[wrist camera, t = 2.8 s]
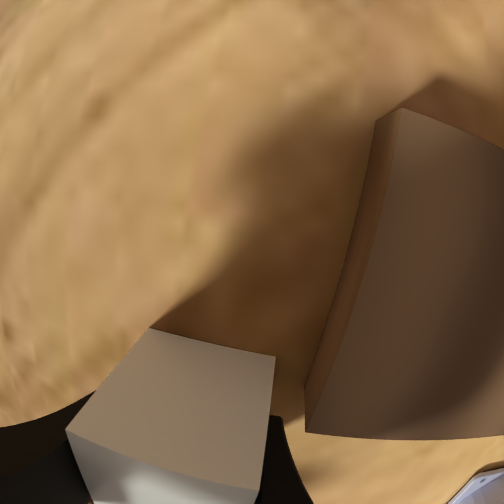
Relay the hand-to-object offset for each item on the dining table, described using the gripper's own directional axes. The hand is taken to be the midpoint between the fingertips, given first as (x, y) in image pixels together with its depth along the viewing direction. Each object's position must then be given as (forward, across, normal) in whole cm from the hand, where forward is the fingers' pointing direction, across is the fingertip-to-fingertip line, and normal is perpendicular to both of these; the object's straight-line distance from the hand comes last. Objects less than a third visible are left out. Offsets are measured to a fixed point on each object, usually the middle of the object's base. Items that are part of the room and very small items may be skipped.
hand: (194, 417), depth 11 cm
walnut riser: (+2, -9, -6) cm, 11 cm away
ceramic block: (+2, 0, 0) cm, 2 cm away
